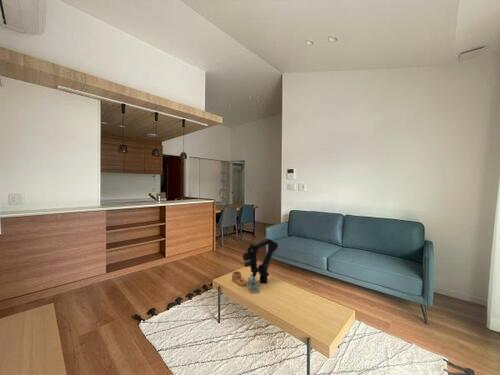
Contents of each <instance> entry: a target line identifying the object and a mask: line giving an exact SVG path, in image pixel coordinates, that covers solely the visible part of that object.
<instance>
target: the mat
mask: <svg viewBox="0 0 500 375" xmlns="http://www.w3.org/2000/svg"><path fill="white" fill-rule="evenodd" d="M249 293H250V294H251V295H253V294H254V295H256V294H257V295H258V294H261V292H260V289H259V287H254V288H249Z"/></svg>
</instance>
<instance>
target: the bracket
mask: <svg viewBox="0 0 500 375" xmlns="http://www.w3.org/2000/svg"><path fill="white" fill-rule="evenodd" d="M231 278H232V279H231V281H232V282H233V283H235V284H236V285H237V286H239V287H246V286H247V285H248V280H246V279H245V278H243V277H242V272H241V271H240V270H239V271H238V270H235V271H232V275H231Z"/></svg>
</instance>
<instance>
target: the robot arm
mask: <svg viewBox="0 0 500 375" xmlns="http://www.w3.org/2000/svg"><path fill="white" fill-rule="evenodd" d="M267 245H268V250H267V252H266V255H265V256H264V260H263V261H262V263H261V264H259V265H258V264H257V262H258V254H259V250H260V249H261V248H263V247H265V246H267ZM278 247H279V245H278V243H277V242H275V241H274V240H272V239H270V238H266V239H264V240H261V241H259V242H256V243H255V242H253V243H250V245H249V247H248V249H247V250H246V252H244V253H243V255H242V259H243V261H244V262H243V265H244V267H245V268H247V267H250V272H251V273H252V274H253V278H255V276H256V275H257V274H258V275H259V283H260V284H268V277H269V275H270V273H269V272H268V270H269V269H268V265H269V263H270V261H271V258H272V255H273V254H274V252H275V251H276V250H277V248H278Z"/></svg>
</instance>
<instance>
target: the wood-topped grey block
mask: <svg viewBox="0 0 500 375" xmlns="http://www.w3.org/2000/svg"><path fill="white" fill-rule="evenodd" d="M249 277H250V285H252V278H253V273H252V274H251V273H250V274H249ZM254 281H255V282H254V284H255V285H256V282H257V283H258V281H257V274H256V276H255V280H254Z"/></svg>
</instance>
